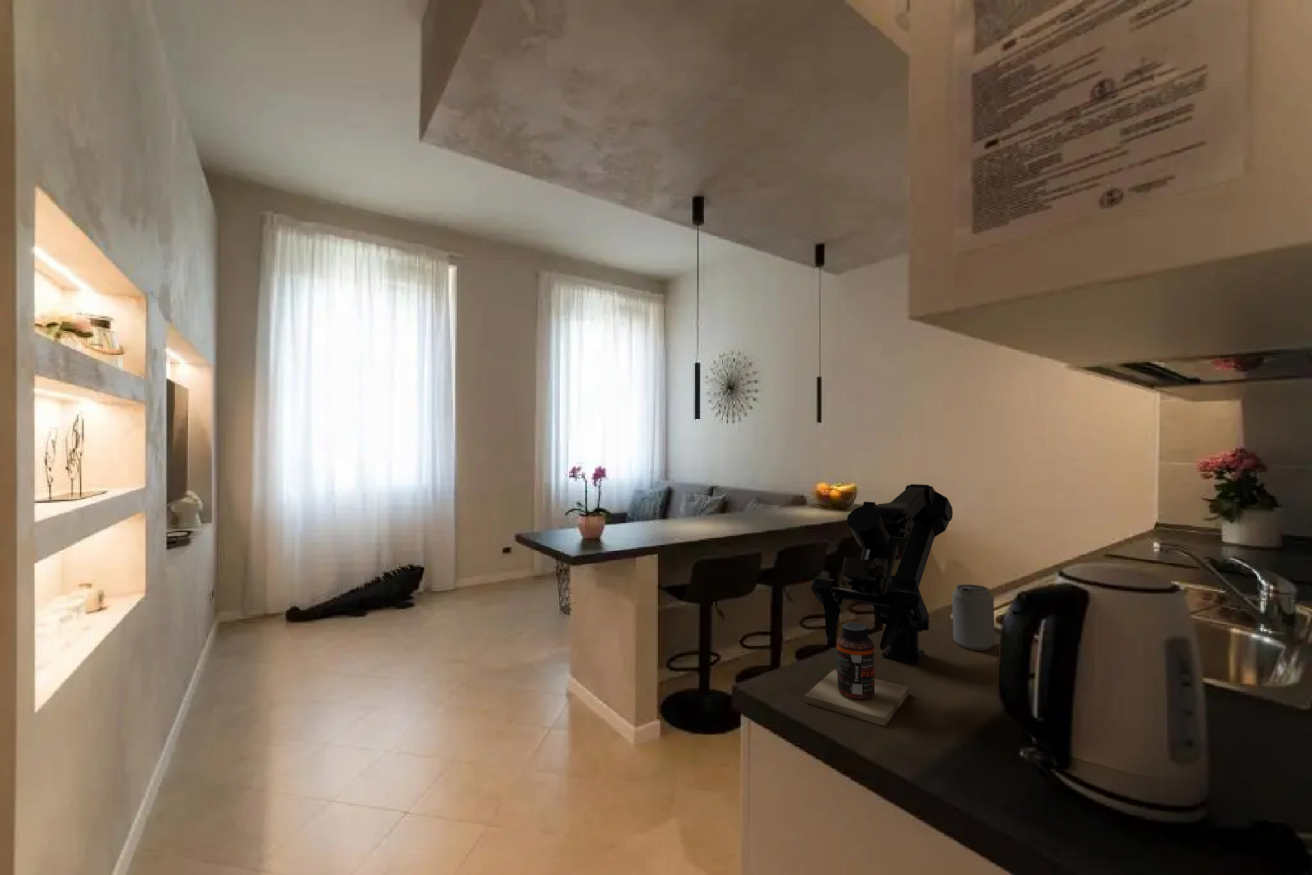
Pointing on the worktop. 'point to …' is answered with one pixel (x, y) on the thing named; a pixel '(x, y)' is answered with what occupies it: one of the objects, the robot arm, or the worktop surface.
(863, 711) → the beige square board
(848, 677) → the supplement bottle
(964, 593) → the can
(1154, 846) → the worktop surface
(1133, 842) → the worktop surface
